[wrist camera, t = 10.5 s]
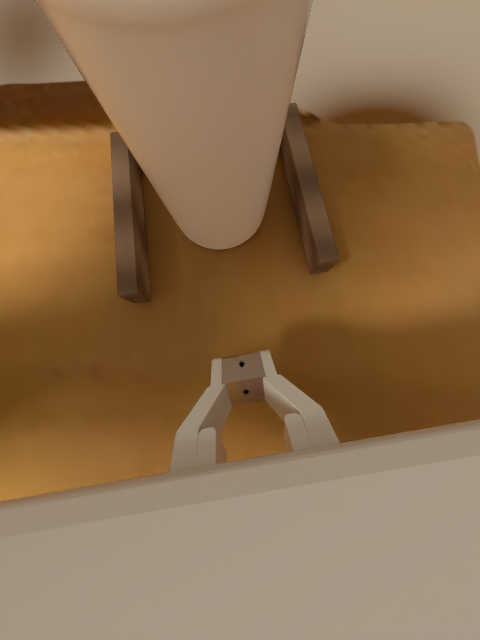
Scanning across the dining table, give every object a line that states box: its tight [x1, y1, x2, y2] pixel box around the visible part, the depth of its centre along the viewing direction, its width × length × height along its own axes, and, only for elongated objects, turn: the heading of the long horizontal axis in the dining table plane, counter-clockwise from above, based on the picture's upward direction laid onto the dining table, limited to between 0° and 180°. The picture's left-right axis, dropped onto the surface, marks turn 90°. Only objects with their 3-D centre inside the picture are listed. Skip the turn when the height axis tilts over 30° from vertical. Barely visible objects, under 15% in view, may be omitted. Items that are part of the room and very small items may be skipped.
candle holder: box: [34, 0, 313, 250], centre depth 11 cm, size 10×10×12 cm
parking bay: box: [110, 103, 339, 303], centre depth 16 cm, size 16×17×2 cm
